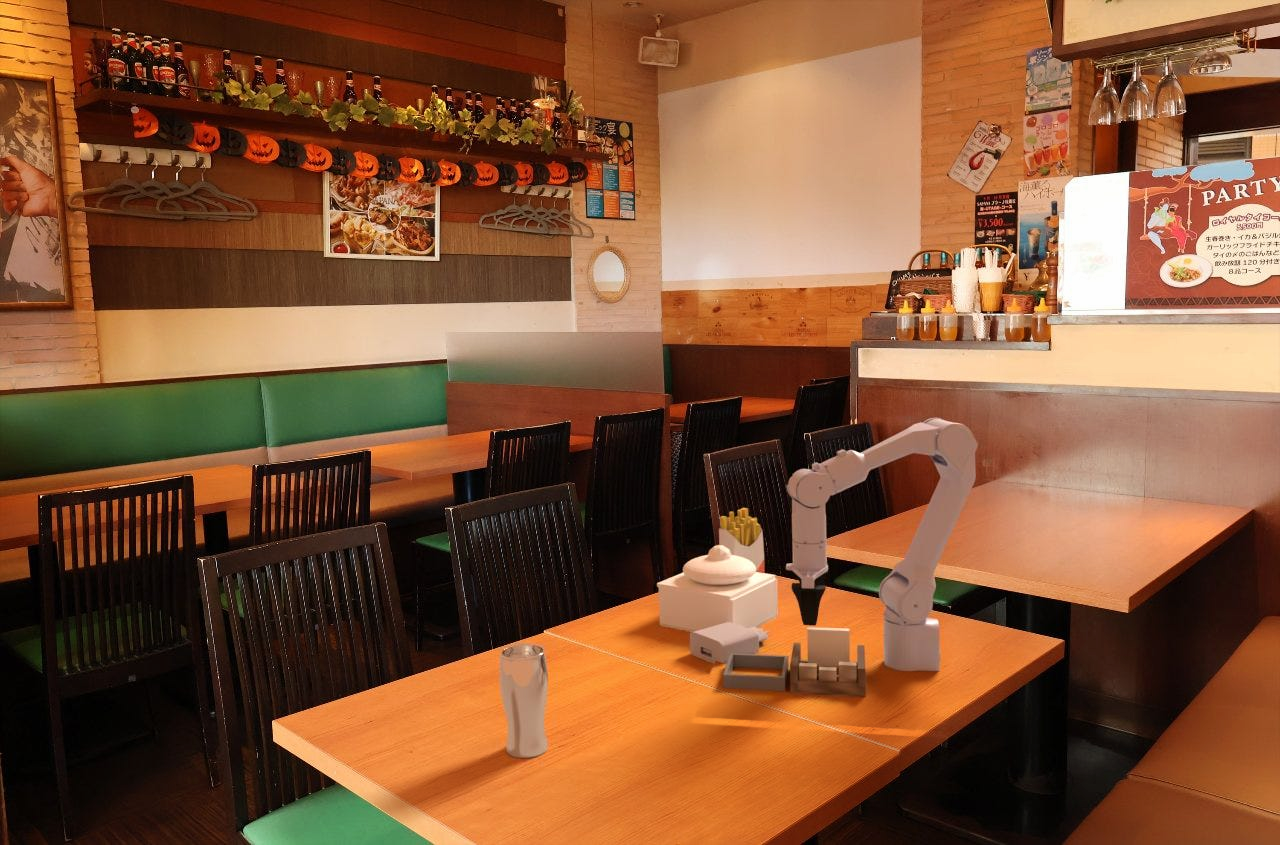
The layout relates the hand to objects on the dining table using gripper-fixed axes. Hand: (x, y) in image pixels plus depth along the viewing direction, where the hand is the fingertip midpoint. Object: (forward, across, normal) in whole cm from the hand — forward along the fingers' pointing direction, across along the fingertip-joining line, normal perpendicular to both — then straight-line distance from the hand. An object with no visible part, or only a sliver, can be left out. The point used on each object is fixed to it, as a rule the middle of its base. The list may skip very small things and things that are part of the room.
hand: (810, 617), depth 167 cm
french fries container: (+10, -49, -18) cm, 53 cm away
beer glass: (+10, +35, -40) cm, 54 cm away
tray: (+10, +5, -9) cm, 14 cm away
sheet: (+9, +2, +3) cm, 10 cm away
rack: (+10, +4, +3) cm, 12 cm away
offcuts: (+9, +8, +3) cm, 13 cm away
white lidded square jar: (+11, -27, -20) cm, 35 cm away
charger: (+11, -10, -14) cm, 20 cm away
